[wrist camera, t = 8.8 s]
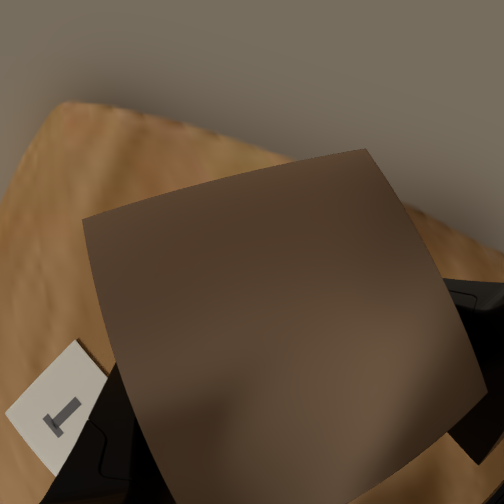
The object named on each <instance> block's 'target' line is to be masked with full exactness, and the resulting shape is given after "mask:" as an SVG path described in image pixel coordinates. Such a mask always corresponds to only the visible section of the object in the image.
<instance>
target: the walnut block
mask: <svg viewBox="0 0 504 504" xmlns="http://www.w3.org/2000/svg"><path fill="white" fill-rule="evenodd" d="M82 222H83V228H84V234H85V240H86V245H87V250H88V255H89V260H90V265H91V270H92V275H93V279H94V283H95V288H96V292H97V296H98V300H99V304H100V308H101V312H102V316H103V319H104V323H105V327H106V330H107V334H108V337H109V340H110V344H111V347H112V350H113V353H114V357H115V360H116V363H117V366H118V369H119V372H120V375H121V378H122V381H123V383H124V386H125V389H126V392H127V395H128V397H129V400H130V403H131V405H132V408H133V410H134V413H135V415H136V418H137V420H138V423H139V425H140V428H141V430H142V433H143V435H144V437H145V440H146V442H147V444H148V446H149V449H150V451H151V453H152V455H153V457H154V460H155V462H156V464H157V466H158V468H159V470H160V472H161V474H162V476H163V478H164V480H165V482H166V484H167V486H168V488H169V490H170V492H171V494H172V496H173V498H174V500H175V501H176V503H177V504H347V503H349V502H350V501H352V500H354V499H355V498H357V497H359V496H360V495H362V494H364V493H365V492H367V491H368V490H370V489H372V488H373V487H375V486H376V485H378V484H379V483H381V482H382V481H384V480H385V479H387V478H388V477H390V476H391V475H393V474H394V473H395V472H397V471H398V470H400V469H401V468H402V467H404V466H405V465H406V464H408V463H409V462H410V461H412V460H413V459H414V458H416V457H417V456H418V455H420V454H421V453H422V452H423V451H425V450H426V449H427V448H428V447H430V446H431V445H432V444H433V443H434V442H436V441H437V440H438V439H439V438H440V437H442V436H443V435H444V434H445V433H446V432H447V431H448V430H450V429H451V428H452V427H453V426H454V425H455V424H456V423H457V422H458V421H459V420H460V419H462V418H463V417H464V416H465V415H466V414H467V413H468V412H469V411H470V410H471V409H472V408H473V407H474V406H475V405H476V404H477V403H478V402H479V401H480V400H481V399H482V398H483V397H484V396H485V395H486V394H487V393H488V391H487V388H486V385H485V382H484V379H483V376H482V373H481V370H480V367H479V364H478V361H477V359H476V356H475V353H474V351H473V348H472V345H471V343H470V340H469V338H468V335H467V333H466V330H465V328H464V325H463V323H462V321H461V318H460V316H459V314H458V311H457V309H456V307H455V305H454V302H453V300H452V298H451V296H450V294H449V291H448V289H447V287H446V285H445V283H444V281H443V279H442V277H441V275H440V273H439V271H438V269H437V267H436V265H435V263H434V261H433V259H432V257H431V255H430V253H429V251H428V249H427V247H426V246H425V244H424V242H423V240H422V238H421V236H420V235H419V233H418V231H417V229H416V227H415V226H414V224H413V222H412V220H411V219H410V217H409V215H408V213H407V212H406V210H405V208H404V207H403V205H402V203H401V202H400V200H399V198H398V197H397V195H396V194H395V192H394V190H393V189H392V187H391V186H390V184H389V182H388V181H387V179H386V178H385V176H384V175H383V173H382V172H381V170H380V169H379V167H378V166H377V165H376V163H375V162H374V160H373V158H372V157H371V155H370V154H369V152H368V151H367V150H366V149H360V150H354V151H348V152H343V153H338V154H332V155H327V156H321V157H316V158H311V159H306V160H301V161H296V162H291V163H287V164H282V165H277V166H273V167H268V168H264V169H259V170H255V171H251V172H246V173H242V174H238V175H234V176H230V177H226V178H222V179H218V180H214V181H210V182H206V183H202V184H198V185H195V186H191V187H187V188H184V189H180V190H176V191H173V192H169V193H166V194H162V195H159V196H155V197H152V198H148V199H145V200H142V201H138V202H135V203H132V204H128V205H125V206H122V207H119V208H116V209H113V210H109V211H106V212H103V213H100V214H97V215H94V216H91V217H88V218H85V219H82Z"/></svg>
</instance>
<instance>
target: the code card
mask: <svg viewBox="0 0 504 504" xmlns="http://www.w3.org/2000/svg"><path fill="white" fill-rule="evenodd" d="M107 378H108V377H107V376H106V375H105V374H104V373H103V372H102V371H101V369H100V368H99V367H98V366H97V365H96V364H95V363H94V361H93V360H92V359H91V358H90V357H89V355H88V354H87V353H86V352H85V351H84V349H83V348H82V347H81V346H80V344H79V343H78V342H77V341H76V340H74V341H73V342H72V343H71V344H70V345H69V346H68V347H67V348H66V349H65V350H64V351H63V352H62V353H61V354H60V355H59V356H58V357H57V358H56V359H55V360H54V361H53V362H52V363H51V364H50V366H49V367H48V368H47V369H46V370H45V371H44V372H43V373H42V374H41V375H40V376H39V377H38V378H37V379H36V380H35V381H34V382H33V383H32V384H31V385H30V386H29V388H28V389H27V390H26V391H25V392H24V393H23V394H22V395H21V396H20V397H19V398H18V399H17V400H16V402H15V403H14V404H13V405H12V406H11V407H10V408H9V409H8V410H7V411H6V412H5V414H6V416H7V417H8V418H9V420H10V421H11V423H12V424H13V425H14V427H15V428H16V429H17V431H18V432H19V433H20V435H21V436H22V437H23V439H24V440H25V441H26V443H27V444H28V445H29V446H30V448H31V449H32V450H33V451H34V453H35V454H36V455H37V456H38V457H39V458H40V460H41V461H42V462H43V463H44V464H45V465H46V467H47V468H48V469H49V470H50V471H51V472H52V473H53V474H54V475H55V477H56V476H57V474H58V473H59V471H60V469H61V468H62V466H63V464H64V463H65V461H66V459H67V457H68V456H69V454H70V452H71V450H72V449H73V447H74V445H75V443H76V441H77V439H78V437H79V435H80V433H81V431H82V429H83V427H84V425H85V423H86V421H87V420H88V417H89V415H90V413H91V410H92V408H93V406H94V404H95V402H96V400H97V398H98V396H99V394H100V392H101V390H102V388H103V386H104V384H105V382H106V380H107Z"/></svg>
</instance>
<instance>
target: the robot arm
mask: <svg viewBox="0 0 504 504" xmlns="http://www.w3.org/2000/svg"><path fill="white" fill-rule="evenodd" d="M442 279H443V281H444V283H445V285H446V287H447V289H448V291H449V294H450V296H451V298H452V300H453V302H454V305H455V307H456V309H457V311H458V314H459V316H460V318H461V321H462V323H463V325H464V328H465V330H466V333H467V335H468V338H469V340H470V343H471V345H472V348H473V351H474V353H475V356H476V359H477V361H478V364H479V367H480V370H481V373H482V376H483V379H484V382H485V385H486V388H487V391H488V393H487V394H486V395H485V396H484V397H483V398H482V399H481V400H480V401H479V402H478V403H477V404H476V405H475V406H474V407H473V408H472V409H471V410H470V411H469V412H468V413H467V414H466V415H465V416H464V417H463V418H462V419H460V420H459V421H458V422H457V423H456V424H455V425H454V426H453V427H452V428H451V429H450V430H448V431H447V433H448V434H449V435H450V436H451V437H452V438H453V439H454V440H455V441H456V442H457V443H458V444H459V446H460V447H461V448H462V449H463V450H464V451H465V452H466V453H467V454H468V455H469V456H470V458H471V459H472V460H473V461H474V462H475V463H476V464H477V465H480V464H481V463H482V462H483V461H484V460H485V459H486V457H487V456H488V455H489V454H490V453H491V452H492V451H493V450H494V449H495V448H496V446H497V445H498V444H499V443H500V442H501V441H502V439H503V438H504V283H496V282H480V281H466V280H455V279H446V278H442ZM39 504H177V503H176V501H175V500H174V498H173V496H172V494H171V492H170V490H169V488H168V486H167V484H166V482H165V480H164V478H163V476H162V474H161V472H160V470H159V468H158V466H157V464H156V462H155V460H154V457H153V455H152V453H151V451H150V449H149V446H148V444H147V442H146V440H145V437H144V435H143V433H142V430H141V428H140V425H139V423H138V420H137V418H136V415H135V413H134V410H133V408H132V405H131V403H130V400H129V397H128V395H127V392H126V389H125V386H124V383H123V381H122V378H121V375H120V372H119V369H118V366H117V363H115V365H114V367H113V369H112V370H111V372H110V374H109V376H108V378H107V380H106V382H105V384H104V386H103V388H102V390H101V392H100V394H99V396H98V398H97V400H96V402H95V404H94V406H93V408H92V410H91V413H90V415H89V417H88V420H87V421H86V423H85V425H84V427H83V429H82V431H81V433H80V435H79V437H78V439H77V441H76V443H75V445H74V447H73V449H72V450H71V452H70V454H69V456H68V457H67V459H66V461H65V463H64V464H63V466H62V468H61V469H60V471H59V473H58V474H57V476H56V478H55V479H54V481H53V483H52V485H51V486H50V488H49V490H48V492H47V493H46V495H45V496H44V498H43V500H42V501H41V502H40V503H39ZM482 504H504V480H503V481H502V482H501V484H500V485H499V486H498V487H497V488H496V489H495V490H494V491H493V493H492V494H491V495H490V496H489V497H488V498H487V499H486V500H485V501H484V502H483V503H482Z"/></svg>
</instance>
